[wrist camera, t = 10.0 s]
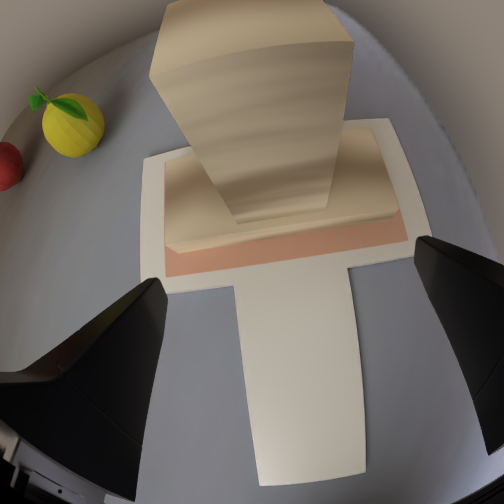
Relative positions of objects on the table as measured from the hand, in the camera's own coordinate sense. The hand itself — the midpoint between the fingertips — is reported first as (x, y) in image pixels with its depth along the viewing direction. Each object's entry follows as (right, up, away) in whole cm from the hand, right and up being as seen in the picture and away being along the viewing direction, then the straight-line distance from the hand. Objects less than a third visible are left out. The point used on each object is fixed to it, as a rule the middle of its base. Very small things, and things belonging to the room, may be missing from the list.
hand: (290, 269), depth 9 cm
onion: (-30, +10, +16) cm, 36 cm away
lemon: (-17, +11, +15) cm, 25 cm away
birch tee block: (0, +4, +9) cm, 10 cm away
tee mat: (+1, -2, +8) cm, 9 cm away
